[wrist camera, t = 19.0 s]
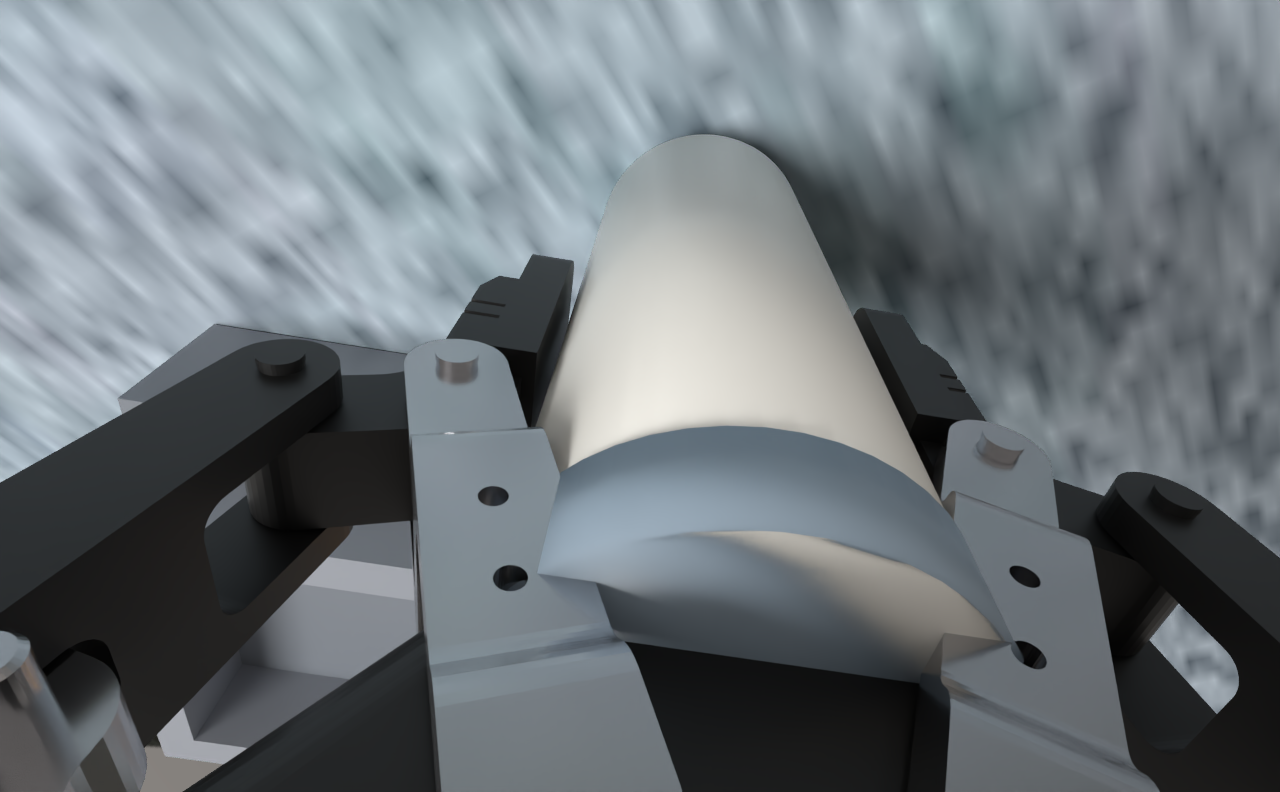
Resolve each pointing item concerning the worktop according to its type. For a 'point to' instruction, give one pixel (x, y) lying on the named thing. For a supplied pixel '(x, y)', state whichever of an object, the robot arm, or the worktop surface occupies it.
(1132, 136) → the worktop surface
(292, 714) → the housing
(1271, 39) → the worktop surface
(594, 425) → the cartridge
